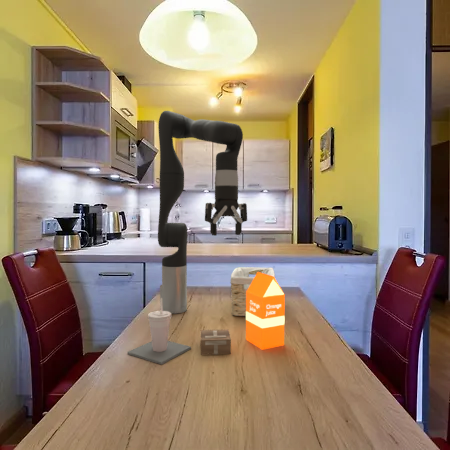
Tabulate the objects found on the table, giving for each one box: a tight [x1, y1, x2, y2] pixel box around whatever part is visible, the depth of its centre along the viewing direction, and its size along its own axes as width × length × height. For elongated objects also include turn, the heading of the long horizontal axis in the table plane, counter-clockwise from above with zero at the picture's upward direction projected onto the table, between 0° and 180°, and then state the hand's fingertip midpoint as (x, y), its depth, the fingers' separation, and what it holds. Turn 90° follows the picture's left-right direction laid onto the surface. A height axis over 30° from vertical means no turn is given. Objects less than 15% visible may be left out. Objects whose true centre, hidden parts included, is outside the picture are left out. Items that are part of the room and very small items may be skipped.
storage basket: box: [229, 266, 276, 317], centre depth 140 cm, size 24×16×15 cm
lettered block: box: [200, 328, 232, 355], centre depth 101 cm, size 8×8×4 cm
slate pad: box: [127, 340, 192, 365], centre depth 98 cm, size 12×12×1 cm
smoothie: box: [147, 297, 172, 352], centre depth 98 cm, size 6×6×14 cm
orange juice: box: [245, 272, 286, 351], centre depth 105 cm, size 8×9×20 cm
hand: (226, 235), depth 118 cm, fingers open, 8 cm apart
